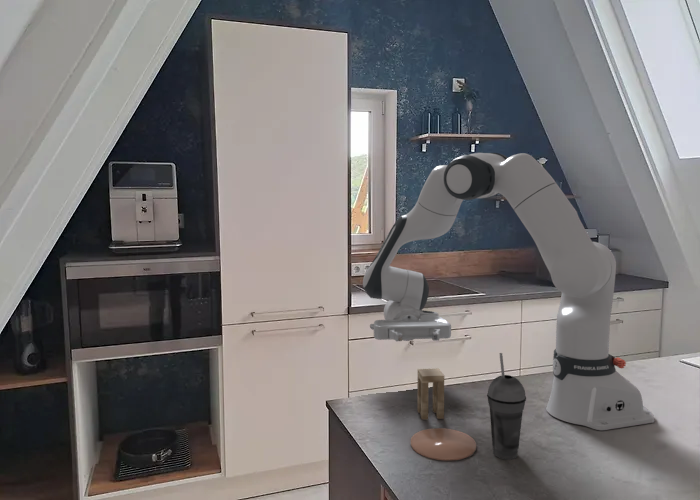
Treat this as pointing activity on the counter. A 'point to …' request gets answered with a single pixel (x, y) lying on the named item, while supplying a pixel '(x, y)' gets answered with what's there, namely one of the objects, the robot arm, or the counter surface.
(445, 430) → the coaster
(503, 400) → the beverage cup
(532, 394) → the counter surface
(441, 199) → the robot arm
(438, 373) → the stool
